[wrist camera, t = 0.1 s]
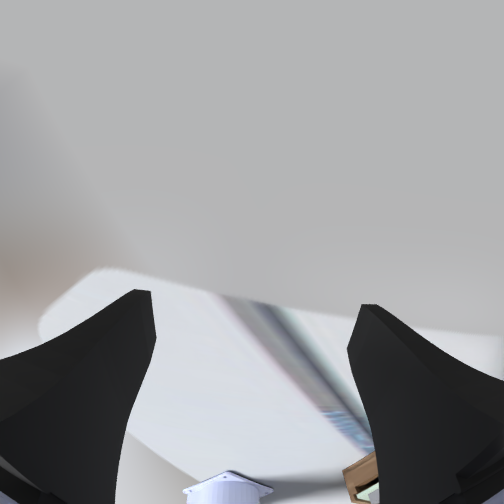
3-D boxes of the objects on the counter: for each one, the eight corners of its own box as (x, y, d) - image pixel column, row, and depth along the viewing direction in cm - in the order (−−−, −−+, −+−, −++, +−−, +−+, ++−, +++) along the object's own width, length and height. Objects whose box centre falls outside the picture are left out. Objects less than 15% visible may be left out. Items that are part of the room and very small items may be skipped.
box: (449, 442, 27) (463, 464, 22) (387, 486, 29) (396, 509, 24) (420, 416, 25) (439, 445, 19) (342, 470, 26) (351, 502, 21)
